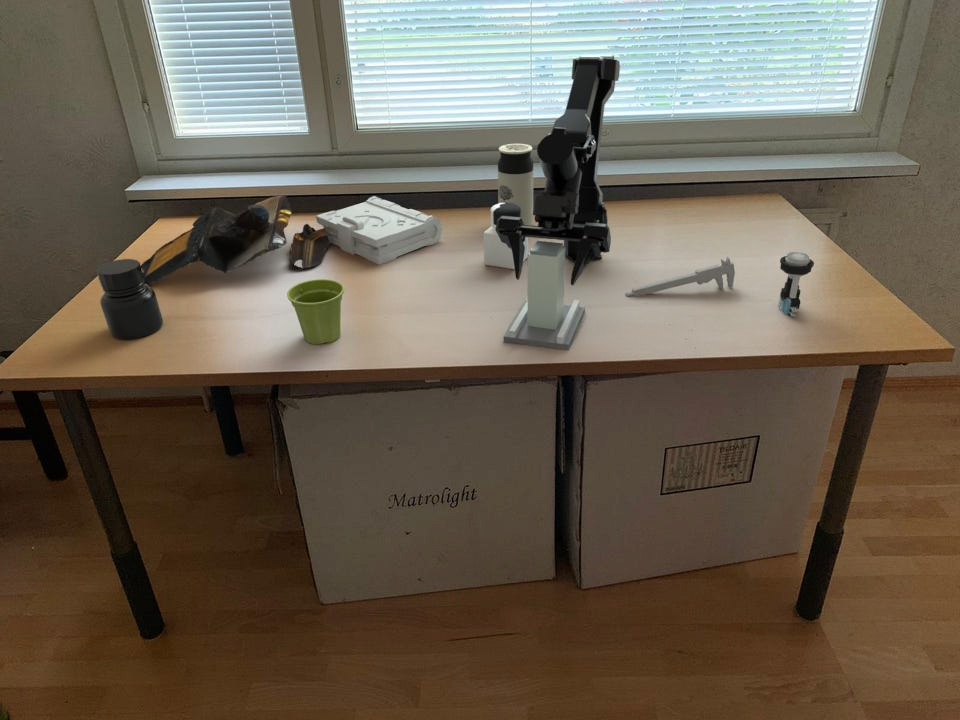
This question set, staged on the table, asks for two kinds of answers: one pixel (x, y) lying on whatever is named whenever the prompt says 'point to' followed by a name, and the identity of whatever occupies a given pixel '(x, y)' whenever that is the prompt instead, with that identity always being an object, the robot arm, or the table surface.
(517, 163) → the travel mug
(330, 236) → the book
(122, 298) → the ink bottle
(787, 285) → the push button
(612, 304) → the table surface
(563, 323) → the rail plate
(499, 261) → the medicine bottle
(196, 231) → the toolset
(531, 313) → the block
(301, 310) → the plant pot
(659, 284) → the caliper
